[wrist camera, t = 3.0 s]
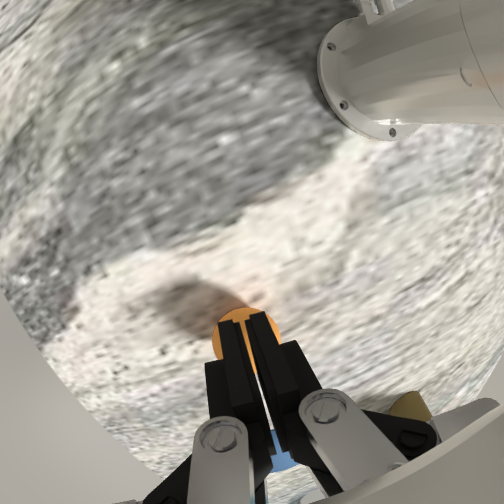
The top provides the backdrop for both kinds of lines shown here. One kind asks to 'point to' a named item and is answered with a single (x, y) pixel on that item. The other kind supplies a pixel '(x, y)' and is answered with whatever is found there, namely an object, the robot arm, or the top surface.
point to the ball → (240, 316)
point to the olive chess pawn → (411, 407)
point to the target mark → (280, 457)
